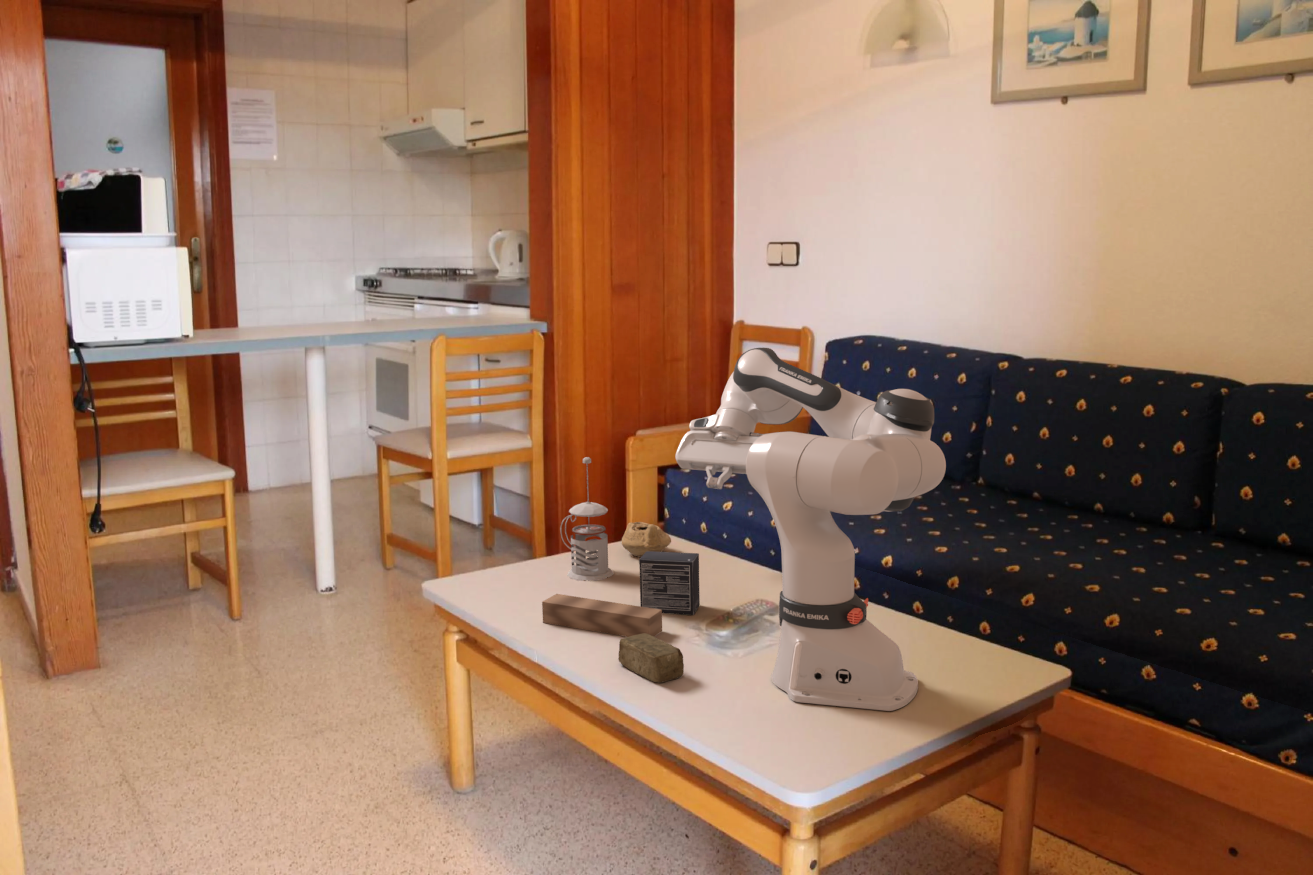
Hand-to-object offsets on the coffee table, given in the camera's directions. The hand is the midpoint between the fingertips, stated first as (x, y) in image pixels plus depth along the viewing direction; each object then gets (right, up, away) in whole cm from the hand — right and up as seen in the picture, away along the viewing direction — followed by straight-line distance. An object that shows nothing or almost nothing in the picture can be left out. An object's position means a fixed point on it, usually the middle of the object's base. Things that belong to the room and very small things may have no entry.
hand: (713, 487), depth 219 cm
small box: (-9, -23, -15) cm, 29 cm away
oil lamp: (-15, -16, +22) cm, 31 cm away
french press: (-26, -19, +8) cm, 33 cm away
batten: (-22, -24, -24) cm, 41 cm away
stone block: (-13, -28, -45) cm, 54 cm away
